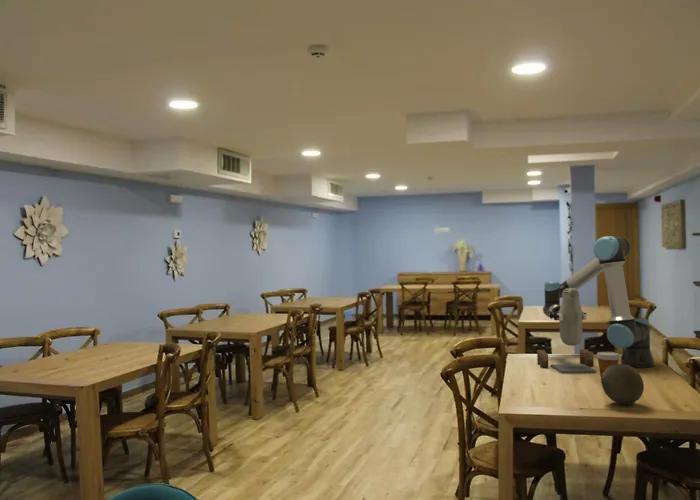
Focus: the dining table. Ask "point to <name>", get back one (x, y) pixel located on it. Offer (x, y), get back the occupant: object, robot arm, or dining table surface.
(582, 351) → the cylinder
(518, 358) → the dining table surface
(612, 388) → the coconut
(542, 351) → the cylinder
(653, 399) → the dining table surface
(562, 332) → the grey ceramic vase
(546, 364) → the cylinder
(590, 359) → the cylinder
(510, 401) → the dining table surface
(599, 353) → the disposable coffee cup
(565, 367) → the mat
